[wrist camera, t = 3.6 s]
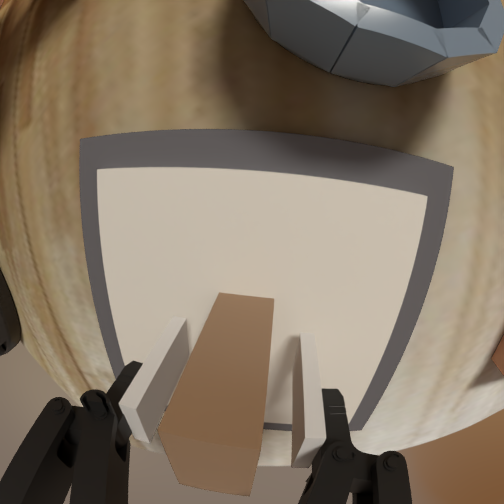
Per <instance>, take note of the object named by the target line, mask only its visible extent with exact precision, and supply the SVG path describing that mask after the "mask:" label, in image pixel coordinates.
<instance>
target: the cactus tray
mask: <svg viewBox="0 0 504 504" xmlns="http://www.w3.org/2000/svg"><path fill="white" fill-rule="evenodd" d="M491 359H492V360H493V362H494V363H495V364H496V366H497V367H498V368H499V370H500V371H501V373H502V374H503V375H504V335H503V337H502V339H501V341H500V343H499V345H498V347H497V349H496V351H495V353H494V354H493V356H492V358H491Z"/></svg>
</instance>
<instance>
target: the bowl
mask: <svg viewBox="0 0 504 504" xmlns="http://www.w3.org/2000/svg"><path fill="white" fill-rule="evenodd" d="M243 1H244V2H245V3H246V5H247V6H248V7H249V8H250V11H251V12H252V14H253V16H254V17H255V19H256V21H257V22H258V23H259V24H260V26H261V27H262V28H263V29H264V31H265V32H267V34H268V35H269V37H270V38H271V39H272V40H274V41H276V42H277V43H279V44H280V45H281V46H283V47H284V48H285V49H286V50H288V51H290V52H291V53H293V54H294V55H296V56H297V57H299V58H300V59H302V60H304V61H306V62H308V63H310V64H312V65H314V66H316V67H318V68H320V69H323V70H325V71H327V72H329V73H332V74H335V75H338V76H341V77H344V78H347V79H351V80H355V81H359V82H364V83H370V84H375V85H387V86H391V87H397V86H400V85H405V84H410V83H415V82H418V81H421V80H424V79H428V78H432V77H437V76H440V75H442V74H444V73H447V72H449V71H451V70H454V69H456V68H458V67H461V66H463V65H466V64H468V63H471V62H473V61H476V60H478V59H481V58H484V57H486V56H489V55H492V54H495V53H497V51H498V48H499V45H500V43H501V40H502V37H503V34H504V9H503V6H502V3H501V1H500V0H243Z"/></svg>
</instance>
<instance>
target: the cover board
mask: <svg viewBox="0 0 504 504" xmlns="http://www.w3.org/2000/svg"><path fill="white" fill-rule="evenodd" d="M97 196H98V216H99V229H100V240H101V249H102V258H103V265H104V272H105V279H106V285H107V291H108V297H109V302H110V307H111V312H112V317H113V321H114V326H115V330H116V335H117V339H118V343H119V347H120V350H121V354H122V358H123V361H124V365H125V366H126V365H127V364H129V363H130V362H132V361H137V362H140V363H144V361H145V360H146V358H147V357H148V355H149V353H150V352H151V350H152V349H153V347H154V346H155V344H156V342H157V341H158V339H159V338H160V336H161V335H162V333H163V331H164V330H165V328H166V327H167V325H168V324H169V322H170V321H171V319H172V318H173V316H176V317H182V318H186V319H187V333H188V346H189V357H188V359H187V362H186V364H185V366H184V368H183V370H182V373H181V375H180V377H179V379H178V382H177V384H176V386H175V388H174V390H173V393H172V395H171V397H170V399H169V402H168V404H167V405H168V407H167V409H166V411H165V414H164V416H163V418H162V421H161V423H160V425H159V427H158V430H157V431H158V433H159V436H160V439H161V441H162V444H163V447H164V449H165V452H166V454H167V456H168V459H169V461H170V464H171V466H172V468H173V471H174V473H175V475H176V477H177V480H178V482H179V484H182V485H186V486H191V487H195V488H200V489H204V490H209V491H215V492H221V493H227V494H234V495H242V496H250V493H251V489H252V485H253V481H254V476H255V472H256V468H257V464H258V460H259V455H260V451H261V443H262V434H263V425H264V422H268V423H281V424H292V368H293V363H294V359H295V354H296V350H297V345H298V340H299V335H300V332H304V333H314V335H315V342H316V349H317V357H318V365H319V373H320V381H321V388H325V389H338V390H339V391H340V392H341V394H342V395H343V397H344V402H345V407H346V415H347V419H348V424H349V423H350V421H351V419H352V417H353V416H354V414H355V412H356V410H357V408H358V406H359V404H360V403H361V401H362V399H363V397H364V395H365V393H366V391H367V389H368V387H369V385H370V383H371V380H372V378H373V376H374V374H375V372H376V370H377V367H378V365H379V363H380V361H381V358H382V356H383V354H384V351H385V349H386V346H387V344H388V341H389V339H390V336H391V334H392V331H393V328H394V326H395V323H396V320H397V317H398V314H399V312H400V309H401V306H402V303H403V299H404V296H405V293H406V290H407V287H408V283H409V280H410V276H411V273H412V269H413V265H414V261H415V257H416V253H417V249H418V245H419V241H420V236H421V231H422V226H423V221H424V216H425V210H426V204H427V198H428V196H425V195H421V194H417V193H412V192H407V191H403V190H398V189H392V188H387V187H382V186H376V185H370V184H365V183H358V182H352V181H346V180H339V179H332V178H324V177H316V176H308V175H299V174H290V173H280V172H268V171H256V170H242V169H224V168H198V167H132V168H107V169H97Z"/></svg>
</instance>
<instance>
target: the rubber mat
mask: <svg viewBox="0 0 504 504" xmlns="http://www.w3.org/2000/svg"><path fill="white" fill-rule="evenodd" d="M132 167H198V168H224V169H242V170H256V171H268V172H280V173H290V174H299V175H308V176H316V177H324V178H332V179H339V180H346V181H352V182H358V183H365V184H370V185H376V186H382V187H387V188H392V189H398V190H403V191H407V192H412V193H417V194H421V195H425V196H428V198H427V204H426V210H425V216H424V221H423V226H422V231H421V236H420V241H419V245H418V249H417V253H416V257H415V261H414V265H413V269H412V273H411V276H410V280H409V283H408V287H407V290H406V293H405V296H404V299H403V303H402V306H401V309H400V312H399V314H398V317H397V320H396V323H395V326H394V328H393V331H392V334H391V336H390V339H389V341H388V344H387V346H386V349H385V351H384V354H383V356H382V358H381V361H380V363H379V365H378V367H377V370H376V372H375V374H374V376H373V378H372V380H371V383H370V385H369V387H368V389H367V391H366V393H365V395H364V397H363V399H362V401H361V403H360V404H359V406H358V408H357V410H356V412H355V414H354V416H353V417H352V419H351V421H350V423H349V424H348V425H349V431H357V430H362V428H363V427H364V425H365V424H366V422H367V421H368V419H369V417H370V416H371V414H372V412H373V411H374V409H375V407H376V406H377V404H378V402H379V400H380V399H381V397H382V395H383V393H384V391H385V389H386V388H387V386H388V384H389V382H390V380H391V378H392V376H393V374H394V372H395V370H396V368H397V366H398V364H399V362H400V360H401V357H402V355H403V353H404V351H405V349H406V346H407V344H408V342H409V339H410V337H411V335H412V332H413V330H414V327H415V325H416V322H417V320H418V317H419V314H420V312H421V309H422V306H423V303H424V300H425V297H426V294H427V291H428V288H429V285H430V282H431V279H432V275H433V272H434V268H435V265H436V261H437V257H438V254H439V250H440V246H441V241H442V237H443V232H444V228H445V223H446V218H447V212H448V207H449V200H450V194H451V187H452V179H453V170H454V167H452V166H449V165H446V164H443V163H439V162H436V161H433V160H429V159H426V158H422V157H418V156H415V155H411V154H407V153H403V152H399V151H395V150H390V149H386V148H381V147H376V146H372V145H367V144H361V143H356V142H350V141H344V140H338V139H332V138H325V137H318V136H310V135H301V134H292V133H282V132H269V131H254V130H232V129H180V130H158V131H143V132H131V133H121V134H112V135H104V136H97V137H90V138H83V139H80V202H81V217H82V228H83V238H84V246H85V254H86V261H87V267H88V274H89V279H90V285H91V290H92V295H93V300H94V304H95V309H96V313H97V317H98V322H99V326H100V329H101V333H102V337H103V340H104V344H105V347H106V351H107V354H108V357H109V361H110V364H111V367H112V370H113V373H114V376H115V379H117V377H118V376H119V375H120V373H121V371H122V370H123V368H124V367H125V365H124V361H123V358H122V354H121V350H120V347H119V343H118V339H117V335H116V330H115V326H114V321H113V317H112V312H111V307H110V302H109V297H108V291H107V285H106V279H105V272H104V265H103V258H102V249H101V240H100V229H99V216H98V196H97V169H107V168H132ZM167 407H168V405H167V406H166V408H165V411H166V409H167ZM263 429H270V430H284V431H292V424H281V423H268V422H264V425H263Z"/></svg>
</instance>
